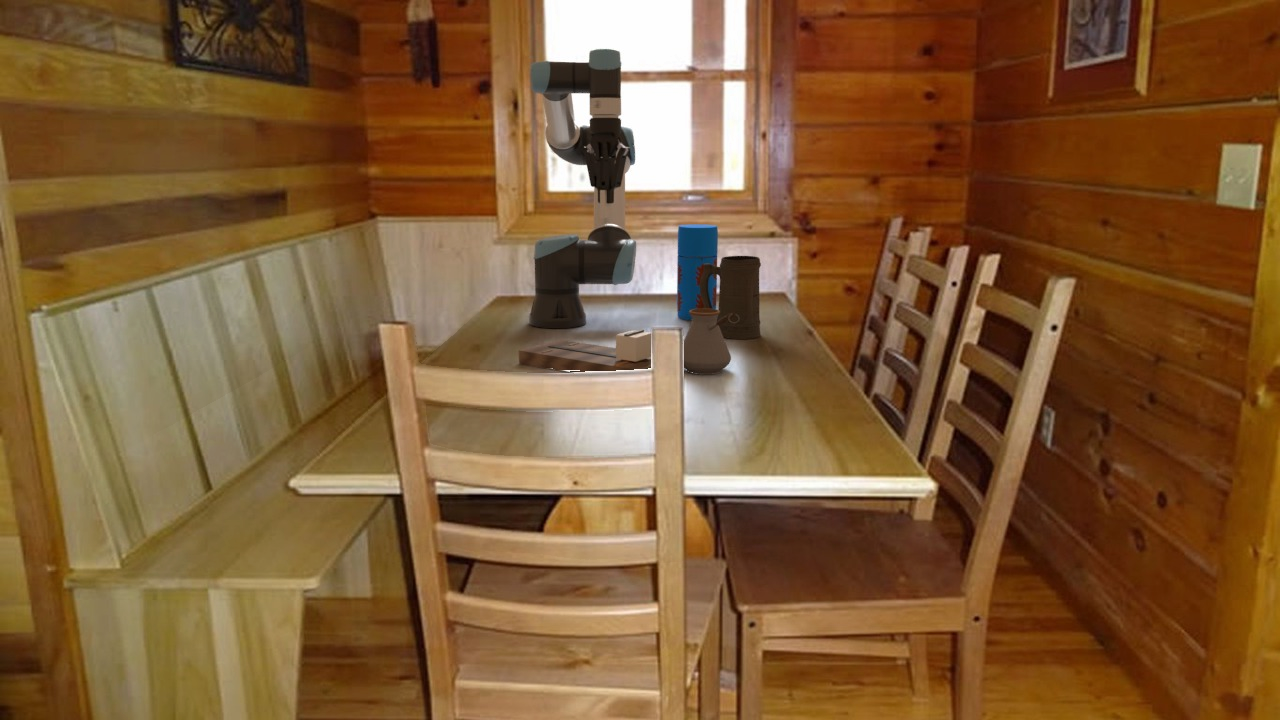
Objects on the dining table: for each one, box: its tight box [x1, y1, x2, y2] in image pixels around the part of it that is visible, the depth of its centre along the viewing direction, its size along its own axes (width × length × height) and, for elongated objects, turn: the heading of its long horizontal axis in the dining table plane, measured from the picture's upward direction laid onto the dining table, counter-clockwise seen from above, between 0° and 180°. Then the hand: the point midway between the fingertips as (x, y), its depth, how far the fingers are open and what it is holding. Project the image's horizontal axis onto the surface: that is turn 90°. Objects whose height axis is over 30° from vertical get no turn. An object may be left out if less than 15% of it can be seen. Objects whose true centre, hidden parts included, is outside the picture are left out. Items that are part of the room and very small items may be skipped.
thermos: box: [676, 224, 719, 321], centre depth 258 cm, size 11×11×25 cm
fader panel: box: [518, 339, 651, 372], centre depth 201 cm, size 32×14×3 cm, turn 55°
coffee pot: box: [683, 308, 739, 376], centre depth 193 cm, size 21×12×15 cm, turn 18°
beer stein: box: [700, 255, 762, 340], centre depth 234 cm, size 15×11×20 cm
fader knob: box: [615, 329, 652, 362], centre depth 195 cm, size 5×6×5 cm
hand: (605, 217), depth 229 cm, fingers closed
